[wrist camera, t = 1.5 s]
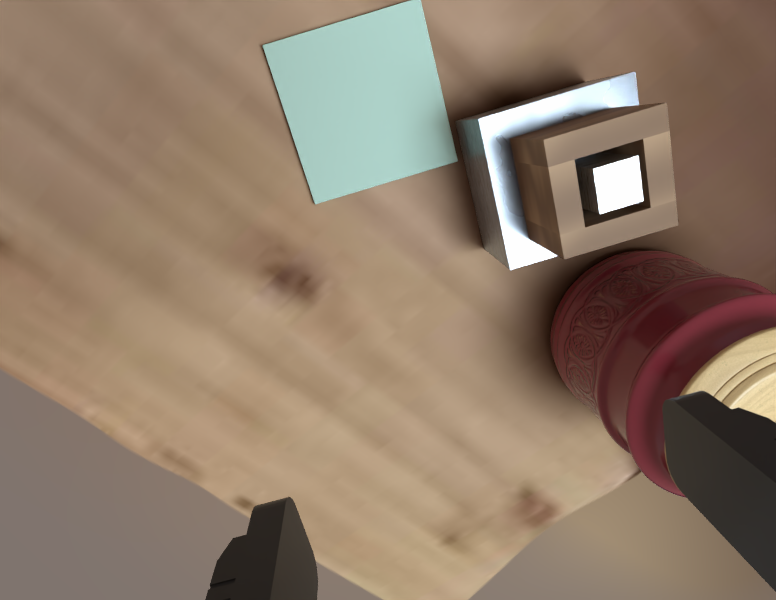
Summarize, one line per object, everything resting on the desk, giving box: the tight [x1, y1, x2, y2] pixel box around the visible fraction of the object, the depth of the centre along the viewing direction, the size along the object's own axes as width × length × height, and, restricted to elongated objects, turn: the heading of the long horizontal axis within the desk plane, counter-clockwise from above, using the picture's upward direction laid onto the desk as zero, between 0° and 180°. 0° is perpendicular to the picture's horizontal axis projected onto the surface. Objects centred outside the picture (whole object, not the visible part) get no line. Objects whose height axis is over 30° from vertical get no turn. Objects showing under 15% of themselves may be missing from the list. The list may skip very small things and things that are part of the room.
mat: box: [263, 0, 458, 204], centre depth 33 cm, size 10×10×1 cm
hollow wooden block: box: [510, 103, 678, 259], centre depth 27 cm, size 6×6×5 cm
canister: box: [550, 250, 776, 498], centre depth 31 cm, size 13×13×18 cm
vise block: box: [455, 72, 644, 270], centre depth 30 cm, size 9×9×12 cm
